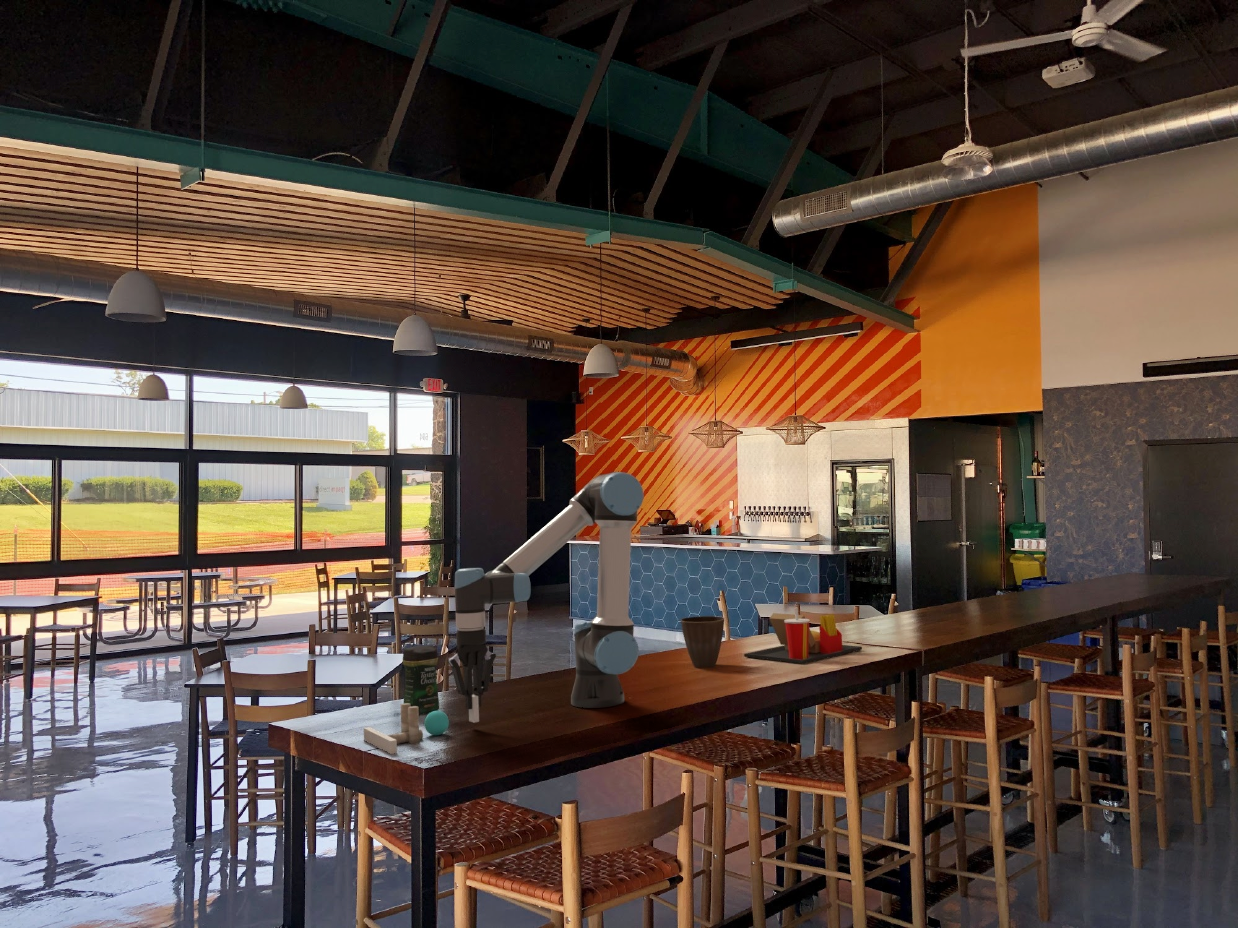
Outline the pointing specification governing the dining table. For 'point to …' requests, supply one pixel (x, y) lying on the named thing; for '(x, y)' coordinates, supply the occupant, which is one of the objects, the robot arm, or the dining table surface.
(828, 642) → the fast food meal
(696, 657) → the plant pot
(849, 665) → the dining table surface
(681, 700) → the dining table surface
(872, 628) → the dining table surface
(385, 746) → the back wall
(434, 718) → the ball
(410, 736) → the pin
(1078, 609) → the dining table surface
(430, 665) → the coffee jar
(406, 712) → the pin
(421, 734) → the front pin
